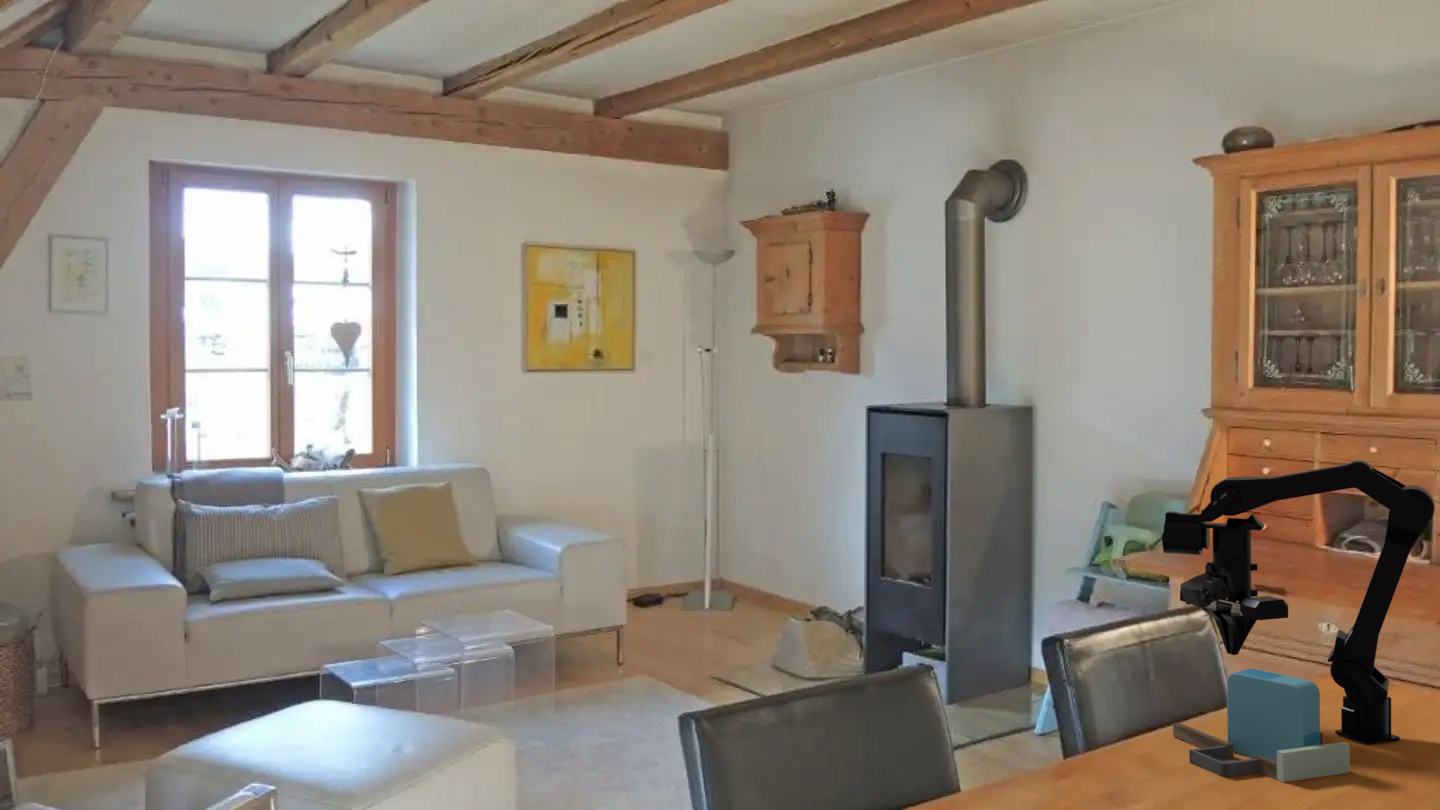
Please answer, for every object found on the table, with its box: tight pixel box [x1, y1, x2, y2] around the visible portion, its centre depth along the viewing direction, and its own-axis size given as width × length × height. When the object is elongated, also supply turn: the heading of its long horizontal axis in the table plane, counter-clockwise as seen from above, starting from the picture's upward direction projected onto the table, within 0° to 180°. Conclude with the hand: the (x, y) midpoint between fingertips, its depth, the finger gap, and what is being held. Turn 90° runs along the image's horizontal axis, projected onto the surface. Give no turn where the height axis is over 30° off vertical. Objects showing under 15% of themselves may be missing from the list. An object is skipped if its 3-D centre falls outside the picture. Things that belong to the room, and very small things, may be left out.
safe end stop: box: [1276, 741, 1351, 783], centre depth 176 cm, size 11×1×4 cm, turn 108°
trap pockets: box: [1188, 731, 1324, 778], centre depth 187 cm, size 24×14×2 cm, turn 108°
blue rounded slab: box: [1226, 668, 1321, 761], centre depth 184 cm, size 12×4×12 cm, turn 34°
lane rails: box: [1172, 722, 1277, 780], centre depth 187 cm, size 11×22×2 cm, turn 18°
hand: (1232, 654), depth 203 cm, fingers closed
